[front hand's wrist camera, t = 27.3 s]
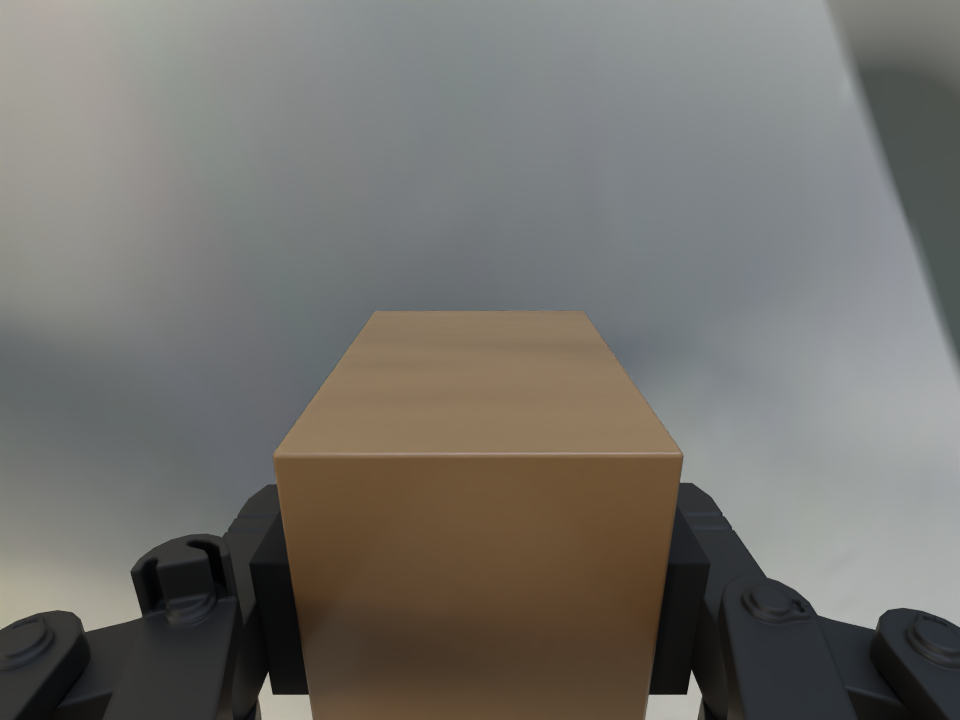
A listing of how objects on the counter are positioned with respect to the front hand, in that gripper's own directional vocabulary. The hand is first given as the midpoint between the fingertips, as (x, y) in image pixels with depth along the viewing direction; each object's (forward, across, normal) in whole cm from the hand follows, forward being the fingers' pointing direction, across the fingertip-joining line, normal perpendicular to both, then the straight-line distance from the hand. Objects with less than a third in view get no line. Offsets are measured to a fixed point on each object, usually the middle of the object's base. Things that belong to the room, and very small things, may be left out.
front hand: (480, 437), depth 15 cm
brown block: (+1, 0, 0) cm, 1 cm away
